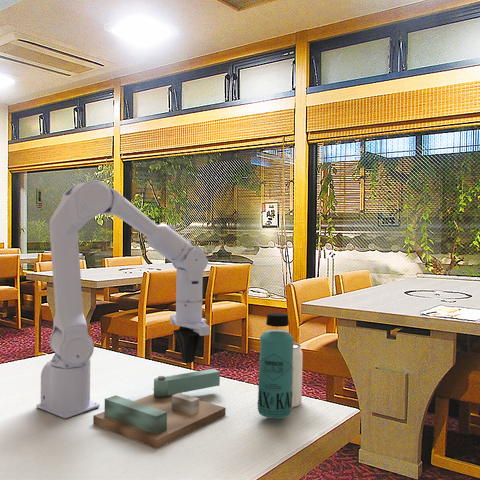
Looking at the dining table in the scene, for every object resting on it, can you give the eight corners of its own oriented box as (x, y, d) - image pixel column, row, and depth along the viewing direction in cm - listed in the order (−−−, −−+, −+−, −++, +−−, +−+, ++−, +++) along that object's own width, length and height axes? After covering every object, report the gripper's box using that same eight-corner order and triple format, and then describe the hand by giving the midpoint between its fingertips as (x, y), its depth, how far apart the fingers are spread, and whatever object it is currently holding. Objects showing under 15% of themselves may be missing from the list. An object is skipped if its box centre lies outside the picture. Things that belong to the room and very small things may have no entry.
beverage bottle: (255, 413, 96) (257, 310, 95) (289, 413, 96) (291, 310, 96) (259, 427, 89) (261, 316, 88) (295, 426, 90) (298, 316, 89)
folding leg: (157, 397, 98) (157, 380, 98) (151, 393, 100) (151, 376, 100) (220, 385, 106) (220, 369, 106) (212, 381, 109) (213, 366, 108)
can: (300, 410, 98) (301, 349, 97) (267, 407, 99) (268, 347, 99) (302, 399, 104) (304, 342, 104) (272, 396, 105) (273, 340, 105)
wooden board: (93, 423, 89) (93, 399, 89) (164, 397, 104) (164, 375, 104) (156, 448, 80) (157, 421, 80) (225, 415, 94) (225, 391, 94)
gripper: (222, 303, 105) (221, 367, 106) (189, 295, 117) (188, 352, 118) (192, 306, 101) (192, 372, 102) (162, 297, 113) (161, 356, 114)
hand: (188, 362), depth 110 cm, fingers closed
